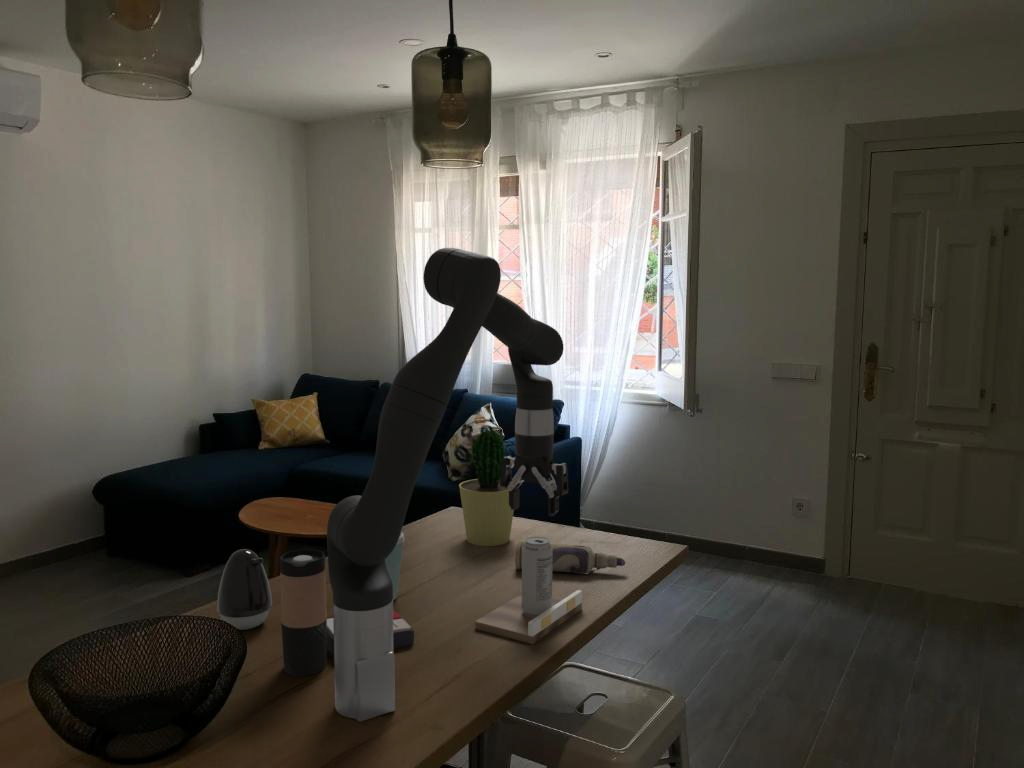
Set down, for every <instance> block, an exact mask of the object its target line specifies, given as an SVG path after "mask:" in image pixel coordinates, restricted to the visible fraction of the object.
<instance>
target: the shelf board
mask: <svg viewBox="0 0 1024 768" xmlns="http://www.w3.org/2000/svg"><path fill="white" fill-rule="evenodd" d="M565 598H566V597H565ZM565 598H564V597H560V596H557V595H556V596H555V595H552V607H553V606H554V605H556V604H557V603H559V602H560V601H562V600H563V599H565ZM581 609H582V610H583V602H582V603H581V604H579V605H578V606H576V607H575V608H573V609H572V610H570V611H569V612H568V613H566V614H565V615H563V616H562V617H560V618H559V619H557V620H556V621H555V622H553V623H552V624H550V625H549V626H547V627H546V628H544V629H543V630H541V631H540V632H539V633H537V634H536V635H534V636H533V637H532V636H529V635H528V622H530V621H531V620H533V619H534V618H531V617H528V616H526V615H525V614H524V611H522V593H520V594H519V595H517V596H516V597H514V598H513V599H511V600H509V601H507V602H505V603H504V604H502V605H501V606H499V607H497V608H495V609H493V610H492V611H490V612H488V613H487V614H485V615H484V616H482V617H480V618H479V619H476V620H475V621H474V626H475V628H474V629H475V630H477V631H482V632H485V633H490V634H493V635H497V636H500V637H504V638H509V639H512V640H516V641H519V642H522V641H523V642H522V643H526V642H527V644H529V645H530V644H531V645H534V644H535V643H536V641H537V642H538V641H539V640H541V639H542V638H544V637H545V636H546V635H548V634H549V633H551V632H552V631H554V630H555V629H556V628H558V627H559V626H561V625H562V624H564V623H565V622H566V621H568V620H569V619H571V618H572V617H573V616H575V615H576V614H577V612H578V611H579V612H580V611H582V610H581ZM579 612H578V613H579ZM574 614H575V615H574ZM571 616H572V617H571ZM570 617H571V618H570ZM567 619H568V620H567ZM564 621H565V622H564ZM561 623H562V624H561ZM560 624H561V625H560ZM557 626H558V627H557ZM553 629H554V630H553ZM550 631H551V632H550Z"/></svg>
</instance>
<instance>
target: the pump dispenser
mask: <svg viewBox="0 0 1024 768" xmlns="http://www.w3.org/2000/svg"><path fill="white" fill-rule="evenodd" d="M264 561H265V560H264V557H259V556H258V555H257V553H255V552H254V551H253V550H251V549H247V548H242V549H238V550H236V551H234V552H232V554H231V555H230V556H229V559H228V560H227V562H226V564H225V566H224V569H223V573H222V575H221V579H220V583H219V586H218V587H219V588H218V593H217V601H216V602H217V603H216V604H217V606H216V608H217V610H216V611H217V613H218V614H219V617H220V618H221V621H222V620H224V621H226V622H227V623H229V624H231V625H233V626H234V627H236V628H237V629H239V630H238V631H245V630H251V629H254V628H256V627H259V626H260V625H262V624H263V623H264V622H265V621H266V620H267V618H268V616H269V614H270V611H271V610H270V609H271V607H272V606H273V599H272V598H273V597H272V591H271V586H270V582H269V579H268V576H267V573H266V570H265V567H264V565H263V563H264ZM237 629H236V630H237Z"/></svg>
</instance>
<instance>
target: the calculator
mask: <svg viewBox="0 0 1024 768" xmlns="http://www.w3.org/2000/svg"><path fill="white" fill-rule="evenodd" d="M333 620H334V619H333V617H332V618H331V617H330V618H327V635H326V651H327V652H328V651H329V652H328V653H329V655H330V656H331V657H332V659H333V660H334V624H333ZM414 635H415V630H414V629H413V628H412V626H411V625H410V624H408V622H407V621H406V620H405V619H404V618H402V617H401V615H400V614H399V613H398V612H397V611H396V610H395V609H394V608H393V650H395V649H398V648H403V647H407V646H413V645H414V644H415V643H414V641H415V640H414V639H415V637H414Z"/></svg>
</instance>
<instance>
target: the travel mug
mask: <svg viewBox="0 0 1024 768" xmlns="http://www.w3.org/2000/svg"><path fill="white" fill-rule="evenodd" d="M279 560H280V561H279V562H280V564H279V565H280V566H279V567H280V622H281V623H280V625H281V639H282V641H281V642H282V654H283V655H282V657H283V669H284V672H285V673H286V674H288V675H290V676H292V677H293V676H294V677H305V676H306V677H308V676H312V675H316V674H318V673H320V672H322V671H323V670H324V669H326V665H327V649H326V635H327V619H328V618H327V616H328V615H327V586H326V585H327V583H326V582H327V581H326V556H325V553H324V552H323V551H320V550H319V549H312V548H311V549H309V548H304V549H296V550H290V551H288V552H285V553H283V554H282V555H281V556H280V558H279Z"/></svg>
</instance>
